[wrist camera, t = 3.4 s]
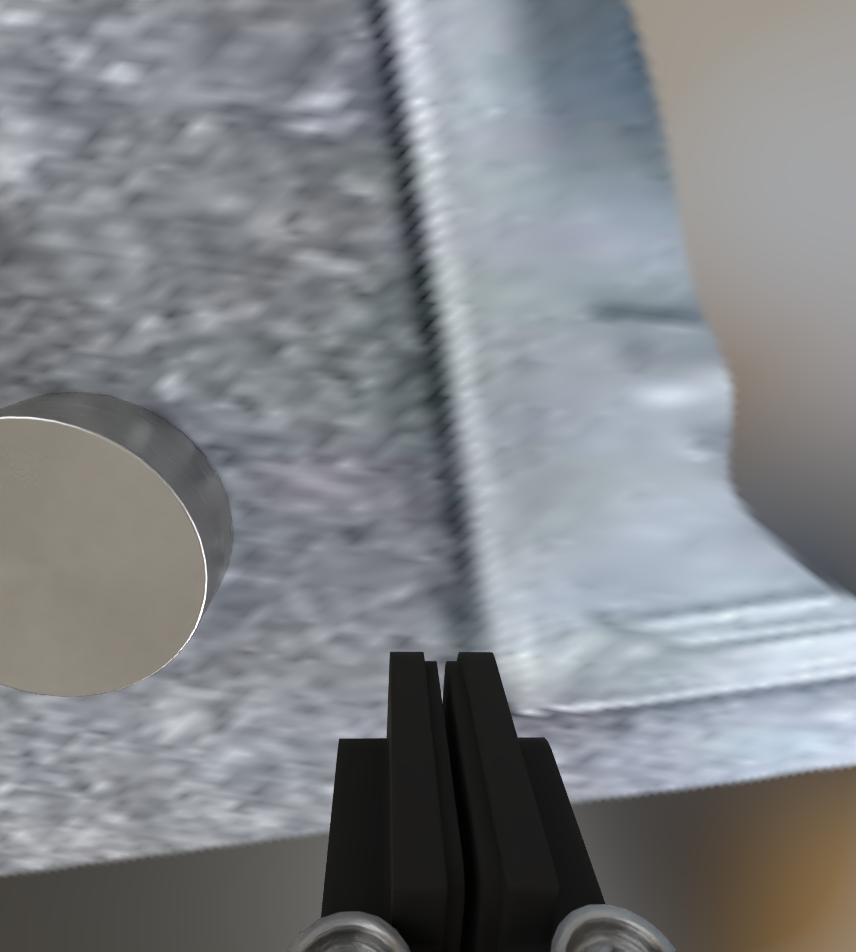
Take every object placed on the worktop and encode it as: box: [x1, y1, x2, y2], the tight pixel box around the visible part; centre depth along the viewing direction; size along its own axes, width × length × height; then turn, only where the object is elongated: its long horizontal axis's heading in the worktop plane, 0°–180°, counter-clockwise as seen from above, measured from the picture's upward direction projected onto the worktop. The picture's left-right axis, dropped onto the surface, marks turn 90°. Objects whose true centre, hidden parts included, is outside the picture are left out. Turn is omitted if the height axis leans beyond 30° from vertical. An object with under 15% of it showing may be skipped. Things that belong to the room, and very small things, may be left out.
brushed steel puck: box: [0, 392, 233, 696], centre depth 15 cm, size 7×7×2 cm
